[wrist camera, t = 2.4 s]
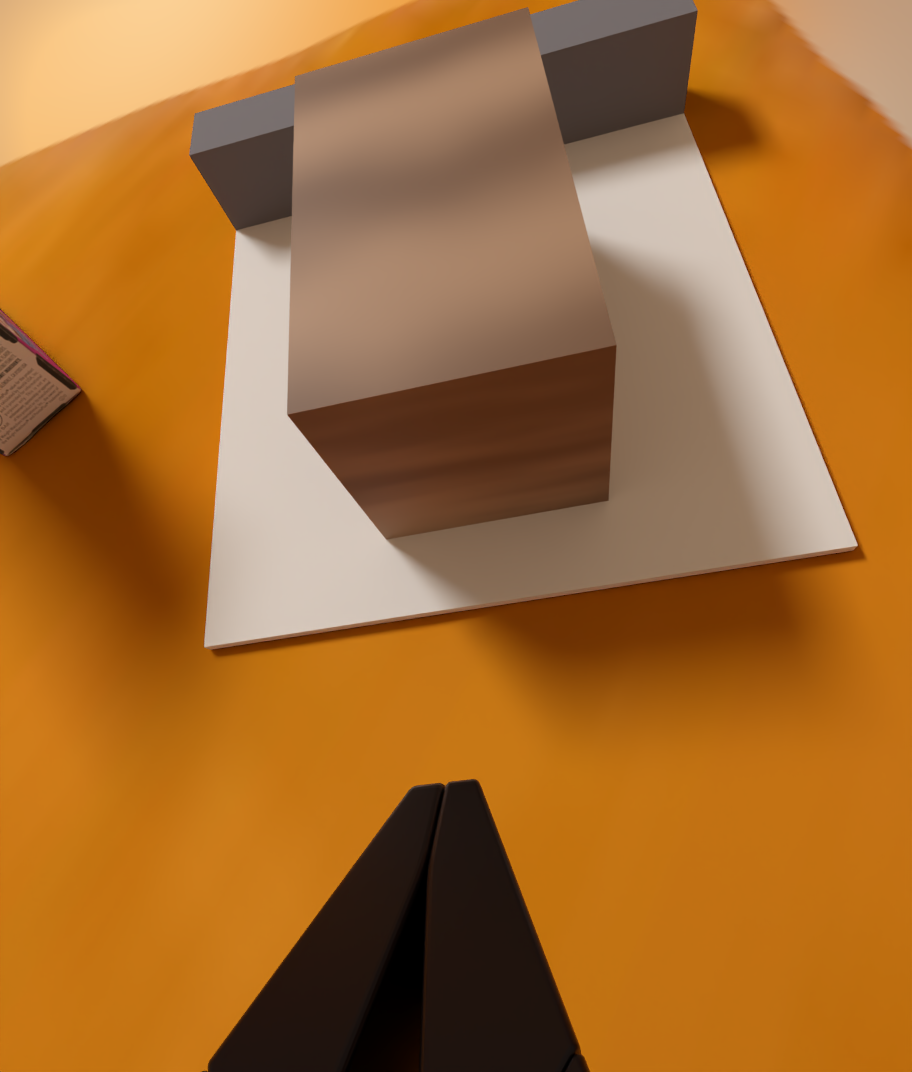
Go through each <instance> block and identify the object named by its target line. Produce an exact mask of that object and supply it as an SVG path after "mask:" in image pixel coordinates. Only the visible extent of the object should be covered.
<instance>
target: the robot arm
mask: <svg viewBox="0 0 912 1072" xmlns="http://www.w3.org/2000/svg"><path fill="white" fill-rule="evenodd" d="M202 1072H207V1071H202ZM208 1072H590V1071H589V1068H588V1066H587V1063H586V1060H585V1058H584V1056H583V1055H581V1050H580V1046H579V1043H578V1040H577V1038H576V1035H575V1033H574V1030H573V1027H572V1025H571V1022H570V1019H569V1017H568V1014H567V1012H566V1009H565V1006H564V1004H563V1001H562V998H561V996H560V993H559V990H558V988H557V985H556V983H555V980H554V977H553V975H552V972H551V969H550V967H549V964H548V961H547V959H546V956H545V954H544V951H543V948H542V946H541V943H540V940H539V938H538V935H537V933H536V930H535V927H534V925H533V922H532V919H531V917H530V914H529V911H528V909H527V906H526V904H525V901H524V898H523V896H522V893H521V890H520V888H519V885H518V883H517V880H516V877H515V875H514V872H513V869H512V867H511V864H510V861H509V859H508V856H507V854H506V851H505V848H504V846H503V843H502V840H501V838H500V835H499V833H498V830H497V827H496V825H495V822H494V819H493V817H492V814H491V811H490V809H489V806H488V804H487V801H486V798H485V796H484V793H483V790H482V788H481V785H480V783H479V782H478V781H477V780H476V779H470V780H461V781H452V782H449V783H448V784H447V785H446V786H445V785H443V784H441V783H435V784H426V785H417V786H414V787H412V788H411V789H410V790H409V791H408V792H407V794H406V795H405V796H404V798H403V799H402V800H401V802H400V803H399V804H398V806H397V807H396V809H395V810H394V811H393V813H392V814H391V815H390V817H389V818H388V819H387V821H386V822H385V823H384V825H383V826H382V827H381V829H380V830H379V832H378V833H377V834H376V836H375V837H374V838H373V840H372V841H371V842H370V844H369V845H368V846H367V848H366V849H365V851H364V852H363V853H362V855H361V856H360V857H359V859H358V860H357V861H356V863H355V864H354V865H353V867H352V868H351V870H350V871H349V872H348V874H347V875H346V876H345V878H344V879H343V880H342V882H341V883H340V884H339V886H338V887H337V889H336V890H335V891H334V893H333V894H332V895H331V897H330V898H329V899H328V901H327V902H326V903H325V905H324V906H323V908H322V909H321V910H320V912H319V913H318V914H317V916H316V917H315V918H314V920H313V921H312V922H311V924H310V925H309V927H308V928H307V929H306V931H305V932H304V933H303V935H302V936H301V937H300V939H299V940H298V941H297V943H296V944H295V945H294V947H293V948H292V950H291V951H290V952H289V954H288V955H287V956H286V958H285V959H284V960H283V962H282V963H281V964H280V966H279V967H278V969H277V970H276V971H275V973H274V974H273V975H272V977H271V978H270V979H269V981H268V982H267V983H266V985H265V986H264V988H263V989H262V990H261V992H260V993H259V994H258V996H257V997H256V998H255V1000H254V1001H253V1002H252V1004H251V1005H250V1007H249V1008H248V1009H247V1011H246V1012H245V1013H244V1015H243V1016H242V1017H241V1019H240V1020H239V1021H238V1023H237V1024H236V1026H235V1027H234V1028H233V1030H232V1031H231V1032H230V1034H229V1035H228V1036H227V1038H226V1039H225V1040H224V1042H223V1043H222V1044H221V1046H220V1047H219V1049H218V1050H217V1051H216V1053H215V1054H214V1055H213V1057H212V1058H211V1059H210V1061H209V1063H208Z"/></svg>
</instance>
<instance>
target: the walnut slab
mask: <svg viewBox="0 0 912 1072" xmlns="http://www.w3.org/2000/svg"><path fill="white" fill-rule="evenodd" d="M616 347H617V345H616V341H615V337H614V333H613V329H612V326H611V322H610V318H609V314H608V310H607V306H606V303H605V299H604V295H603V291H602V287H601V284H600V280H599V276H598V272H597V268H596V265H595V261H594V257H593V253H592V249H591V245H590V242H589V238H588V234H587V230H586V226H585V223H584V219H583V215H582V211H581V207H580V203H579V200H578V196H577V192H576V188H575V184H574V181H573V177H572V173H571V169H570V165H569V162H568V158H567V154H566V150H565V146H564V142H563V139H562V135H561V131H560V127H559V123H558V120H557V116H556V112H555V108H554V104H553V101H552V97H551V93H550V89H549V85H548V81H547V78H546V74H545V70H544V66H543V62H542V59H541V55H540V51H539V47H538V43H537V39H536V36H535V32H534V28H533V24H532V20H531V17H530V13H529V9H528V7H527V8H524V9H520V10H517V11H514V12H510V13H507V14H504V15H500V16H497V17H493V18H490V19H487V20H483V21H480V22H477V23H473V24H470V25H467V26H463V27H460V28H456V29H453V30H450V31H446V32H443V33H440V34H436V35H433V36H429V37H426V38H423V39H419V40H416V41H413V42H409V43H406V44H403V45H399V46H396V47H392V48H389V49H386V50H382V51H379V52H376V53H372V54H369V55H366V56H362V57H359V58H355V59H352V60H349V61H345V62H342V63H339V64H335V65H332V66H329V67H325V68H322V69H318V70H315V71H312V72H308V73H305V74H302V75H298V76H295V103H294V144H293V186H292V227H291V268H290V310H289V351H288V393H287V415H288V417H289V418H290V419H291V420H292V422H293V423H294V424H295V425H296V427H297V428H298V429H299V430H300V432H301V433H302V434H303V435H304V437H305V438H306V439H307V441H308V442H309V443H310V444H311V446H312V447H313V448H314V449H315V451H316V452H317V453H318V454H319V456H320V457H321V458H322V459H323V461H324V462H325V463H326V464H327V466H328V467H329V468H330V470H331V471H332V472H333V473H334V475H335V476H336V477H337V478H338V480H339V481H340V482H341V483H342V485H343V486H344V487H345V488H346V490H347V491H348V492H349V493H350V495H351V496H352V497H353V499H354V500H355V501H356V502H357V504H358V505H359V506H360V507H361V509H362V510H363V511H364V512H365V514H366V515H367V516H368V517H369V519H370V520H371V521H372V522H373V524H374V525H375V526H376V528H377V529H378V530H379V531H380V533H381V534H382V535H383V536H384V538H385V539H386V540H387V539H392V538H398V537H404V536H410V535H415V534H421V533H427V532H432V531H438V530H444V529H450V528H455V527H461V526H467V525H472V524H478V523H484V522H490V521H495V520H501V519H507V518H512V517H518V516H524V515H530V514H535V513H541V512H547V511H552V510H558V509H564V508H570V507H575V506H581V505H587V504H592V503H598V502H604V501H609V482H610V463H611V443H612V424H613V405H614V386H615V366H616Z"/></svg>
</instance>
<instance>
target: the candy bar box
mask: <svg viewBox="0 0 912 1072" xmlns="http://www.w3.org/2000/svg"><path fill="white" fill-rule="evenodd" d="M80 391H81V388H80V387H79V386H78V385H77V384H76V383H75V382H74V381H73V380H72V379H71V378H70V377H69V376H68V375H67V374H66V373H65V372H64V371H63V370H62V369H61V368H60V367H59V366H58V365H57V364H56V363H55V362H54V361H53V360H52V359H51V358H50V357H49V356H48V355H47V354H46V353H44V352H43V351H42V350H41V349H40V348H39V347H38V346H37V345H36V344H35V343H34V342H33V341H32V340H31V339H30V338H29V337H28V336H27V335H26V334H25V333H24V332H23V331H22V330H21V329H20V328H19V327H18V326H17V325H16V324H15V323H14V322H13V321H12V320H11V319H10V318H9V317H8V316H7V315H6V314H5V313H4V312H3V311H2V310H1V309H0V454H2V455H4V456H9V455H10V454H12V453H13V452H14V451H16V450H17V449H18V448H20V447H21V446H22V445H24V444H25V443H26V442H27V441H28V440H29V439H31V437H32V436H33V435H34V434H35V433H36V432H37V431H38V430H39V429H40V428H41V427H43V426H44V425H45V424H46V423H47V422H48V421H49V420H50V419H51V418H52V417H53V416H54V415H55V414H56V413H57V412H59V411H60V410H61V409H62V408H63V407H65V406H66V405H67V404H68V403H69V402H70V401H71V400H72V399H73V398H74V397H75V396H76V395H77V394H79V393H80Z"/></svg>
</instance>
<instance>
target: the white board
mask: <svg viewBox="0 0 912 1072" xmlns="http://www.w3.org/2000/svg"><path fill="white" fill-rule="evenodd" d="M530 17H531V20H532V24H533V28H534V32H535V36H536V39H537V43H538V47H539V51H540V55H541V59H542V62H543V66H544V70H545V74H546V78H547V81H548V85H549V89H550V93H551V97H552V101H553V104H554V108H555V112H556V116H557V120H558V123H559V127H560V131H561V135H562V139H563V142H564V146H565V150H566V154H567V158H568V162H569V165H570V169H571V173H572V177H573V181H574V184H575V188H576V192H577V196H578V200H579V203H580V207H581V211H582V215H583V219H584V223H585V226H586V230H587V234H588V238H589V242H590V245H591V249H592V253H593V257H594V261H595V265H596V268H597V272H598V276H599V280H600V284H601V287H602V291H603V295H604V299H605V303H606V306H607V310H608V314H609V318H610V322H611V326H612V329H613V333H614V337H615V341H616V345H617V347H616V366H615V386H614V405H613V424H612V443H611V463H610V482H609V501H604V502H598V503H592V504H587V505H581V506H575V507H570V508H564V509H558V510H552V511H547V512H541V513H535V514H530V515H524V516H518V517H512V518H507V519H501V520H495V521H490V522H484V523H478V524H472V525H467V526H461V527H455V528H450V529H444V530H438V531H432V532H427V533H421V534H415V535H410V536H404V537H398V538H392V539H387V540H386V539H385V538H384V536H383V535H382V534H381V533H380V531H379V530H378V529H377V528H376V526H375V525H374V524H373V522H372V521H371V520H370V519H369V517H368V516H367V515H366V514H365V512H364V511H363V510H362V509H361V507H360V506H359V505H358V504H357V502H356V501H355V500H354V499H353V497H352V496H351V495H350V493H349V492H348V491H347V490H346V488H345V487H344V486H343V485H342V483H341V482H340V481H339V480H338V478H337V477H336V476H335V475H334V473H333V472H332V471H331V470H330V468H329V467H328V466H327V464H326V463H325V462H324V461H323V459H322V458H321V457H320V456H319V454H318V453H317V452H316V451H315V449H314V448H313V447H312V446H311V444H310V443H309V442H308V441H307V439H306V438H305V437H304V435H303V434H302V433H301V432H300V430H299V429H298V428H297V427H296V425H295V424H294V423H293V422H292V420H291V419H290V418H289V417H288V415H287V393H288V351H289V310H290V268H291V227H292V186H293V144H294V103H295V84H294V85H290V86H287V87H284V88H280V89H277V90H273V91H270V92H267V93H263V94H260V95H256V96H253V97H250V98H246V99H243V100H240V101H236V102H233V103H229V104H226V105H223V106H219V107H216V108H212V109H209V110H206V111H202V112H199V113H195V116H194V124H193V132H192V139H191V147H190V154H189V155H190V157H191V159H192V160H193V162H194V163H195V165H196V167H197V168H198V170H199V171H200V173H201V175H202V176H203V178H204V179H205V181H206V183H207V184H208V186H209V187H210V189H211V191H212V192H213V194H214V195H215V197H216V199H217V200H218V202H219V203H220V205H221V207H222V208H223V210H224V211H225V213H226V215H227V216H228V218H229V219H230V221H231V223H232V224H233V226H234V227H235V229H236V241H235V254H234V267H233V280H232V293H231V306H230V318H229V331H228V344H227V357H226V370H225V383H224V396H223V409H222V422H221V434H220V447H219V460H218V473H217V486H216V499H215V512H214V525H213V538H212V550H211V563H210V576H209V589H208V602H207V615H206V628H205V641H204V647H205V648H207V649H210V650H211V649H218V648H224V647H231V646H237V645H244V644H250V643H257V642H263V641H270V640H276V639H283V638H289V637H296V636H302V635H309V634H315V633H322V632H328V631H334V630H341V629H347V628H354V627H360V626H367V625H373V624H380V623H386V622H393V621H399V620H406V619H412V618H419V617H425V616H432V615H438V614H445V613H451V612H458V611H464V610H471V609H477V608H484V607H490V606H497V605H503V604H510V603H516V602H522V601H529V600H535V599H542V598H548V597H555V596H561V595H568V594H574V593H581V592H587V591H594V590H600V589H607V588H613V587H620V586H626V585H633V584H639V583H646V582H652V581H659V580H665V579H672V578H678V577H685V576H691V575H698V574H704V573H710V572H717V571H723V570H730V569H736V568H743V567H749V566H756V565H762V564H769V563H775V562H782V561H788V560H795V559H801V558H808V557H814V556H821V555H827V554H834V553H840V552H847V551H853V550H854V549H855V548H856V547H857V546H858V544H857V542H856V539H855V537H854V535H853V532H852V530H851V527H850V525H849V522H848V520H847V517H846V515H845V512H844V510H843V507H842V505H841V502H840V500H839V497H838V495H837V492H836V490H835V487H834V485H833V482H832V480H831V477H830V475H829V472H828V470H827V467H826V465H825V462H824V460H823V457H822V455H821V453H820V450H819V448H818V445H817V443H816V440H815V438H814V435H813V433H812V430H811V428H810V425H809V423H808V420H807V418H806V415H805V413H804V410H803V408H802V405H801V403H800V400H799V398H798V395H797V393H796V390H795V388H794V385H793V383H792V380H791V378H790V375H789V373H788V371H787V368H786V366H785V363H784V361H783V358H782V356H781V353H780V351H779V348H778V346H777V343H776V341H775V338H774V336H773V333H772V331H771V328H770V326H769V323H768V321H767V318H766V316H765V313H764V311H763V308H762V306H761V303H760V301H759V298H758V296H757V293H756V291H755V289H754V286H753V284H752V281H751V279H750V276H749V274H748V271H747V269H746V266H745V264H744V261H743V259H742V256H741V254H740V251H739V249H738V246H737V244H736V241H735V239H734V236H733V234H732V231H731V229H730V226H729V224H728V221H727V219H726V216H725V214H724V211H723V209H722V207H721V204H720V202H719V199H718V197H717V194H716V192H715V189H714V187H713V184H712V182H711V179H710V177H709V174H708V172H707V169H706V167H705V164H704V162H703V159H702V157H701V154H700V152H699V149H698V147H697V144H696V142H695V139H694V137H693V134H692V132H691V129H690V127H689V125H688V122H687V120H686V117H685V115H684V109H685V101H686V94H687V86H688V79H689V71H690V64H691V56H692V49H693V41H694V33H695V26H696V18H697V8H696V6H695V4H694V2H693V0H578V1H575V2H572V3H568V4H565V5H561V6H558V7H555V8H551V9H548V10H544V11H541V12H538V13H534V14H531V15H530Z"/></svg>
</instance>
